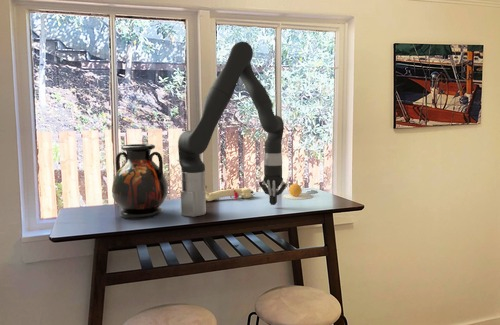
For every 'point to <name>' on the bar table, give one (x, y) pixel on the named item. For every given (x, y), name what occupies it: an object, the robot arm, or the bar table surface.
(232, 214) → the bar table surface
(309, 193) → the disc
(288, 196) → the disc
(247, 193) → the cat figure
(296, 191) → the ball
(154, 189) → the amphora vase
